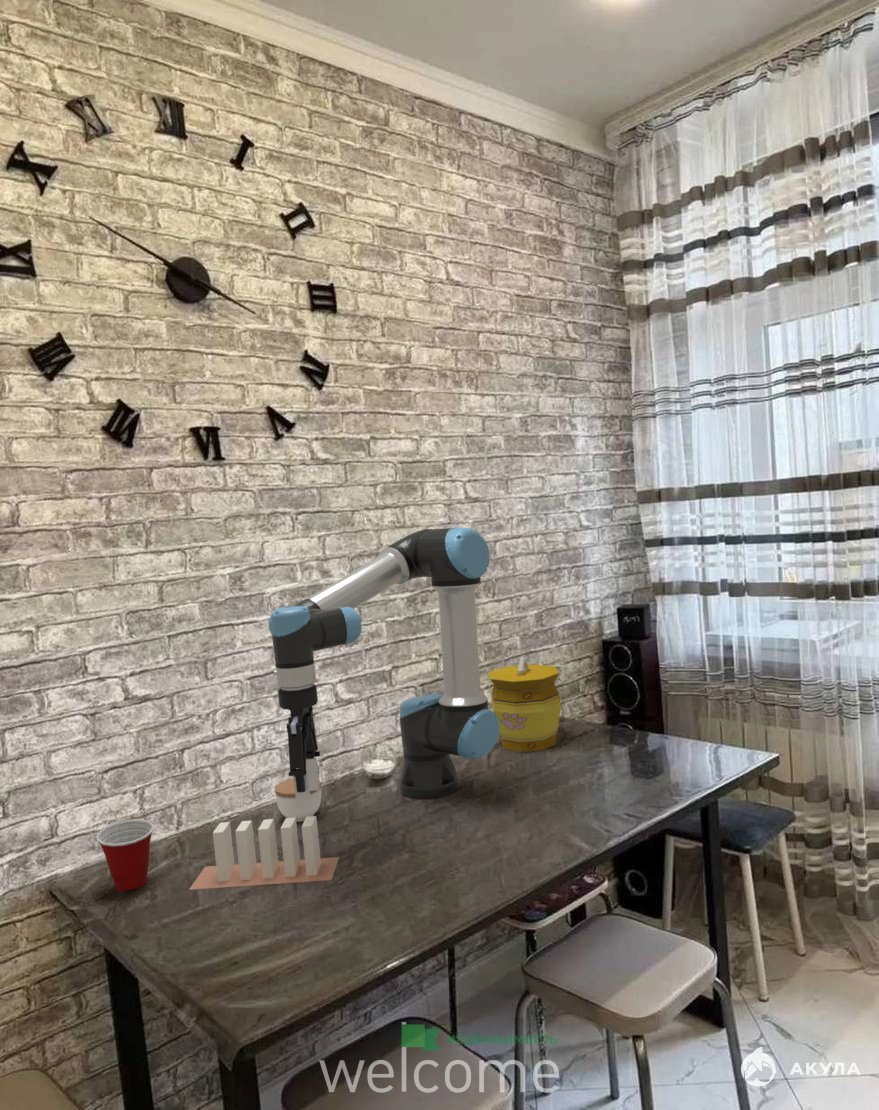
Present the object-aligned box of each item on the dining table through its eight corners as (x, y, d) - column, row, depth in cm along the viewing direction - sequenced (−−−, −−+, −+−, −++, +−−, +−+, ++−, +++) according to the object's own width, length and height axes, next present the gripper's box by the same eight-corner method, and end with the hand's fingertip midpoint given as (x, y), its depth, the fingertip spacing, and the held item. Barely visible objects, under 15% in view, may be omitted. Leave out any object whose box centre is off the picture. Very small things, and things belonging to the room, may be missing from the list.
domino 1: (235, 869, 169) (229, 822, 168) (228, 881, 164) (222, 832, 163) (225, 870, 169) (220, 822, 168) (218, 881, 164) (212, 832, 163)
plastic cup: (113, 906, 159) (106, 846, 158) (95, 888, 167) (88, 831, 166) (168, 886, 166) (162, 827, 165) (149, 869, 174) (142, 814, 173)
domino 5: (321, 863, 168) (316, 815, 167) (316, 875, 163) (311, 825, 162) (311, 864, 168) (306, 816, 168) (306, 876, 163) (301, 826, 163)
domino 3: (278, 866, 169) (273, 818, 168) (273, 878, 164) (267, 828, 163) (269, 867, 169) (264, 819, 168) (263, 878, 164) (257, 829, 163)
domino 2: (256, 868, 169) (251, 820, 168) (250, 879, 164) (245, 830, 163) (247, 868, 169) (242, 821, 168) (240, 880, 164) (235, 831, 163)
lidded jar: (268, 823, 194) (264, 784, 193) (296, 806, 203) (293, 768, 203) (305, 828, 189) (301, 788, 188) (332, 810, 198) (329, 772, 198)
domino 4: (300, 865, 168) (295, 817, 168) (295, 876, 164) (290, 827, 163) (290, 865, 169) (286, 818, 168) (285, 877, 164) (280, 828, 163)
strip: (339, 859, 171) (339, 857, 171) (331, 882, 161) (331, 879, 161) (205, 869, 172) (205, 866, 172) (189, 892, 162) (189, 889, 162)
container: (572, 733, 243) (566, 648, 241) (556, 756, 223) (549, 665, 221) (503, 731, 250) (497, 649, 249) (482, 753, 231) (474, 665, 229)
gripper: (289, 675, 174) (300, 780, 175) (265, 701, 153) (277, 820, 154) (325, 672, 173) (335, 778, 175) (305, 697, 152) (317, 817, 154)
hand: (308, 798), depth 165 cm, fingers open, 8 cm apart
